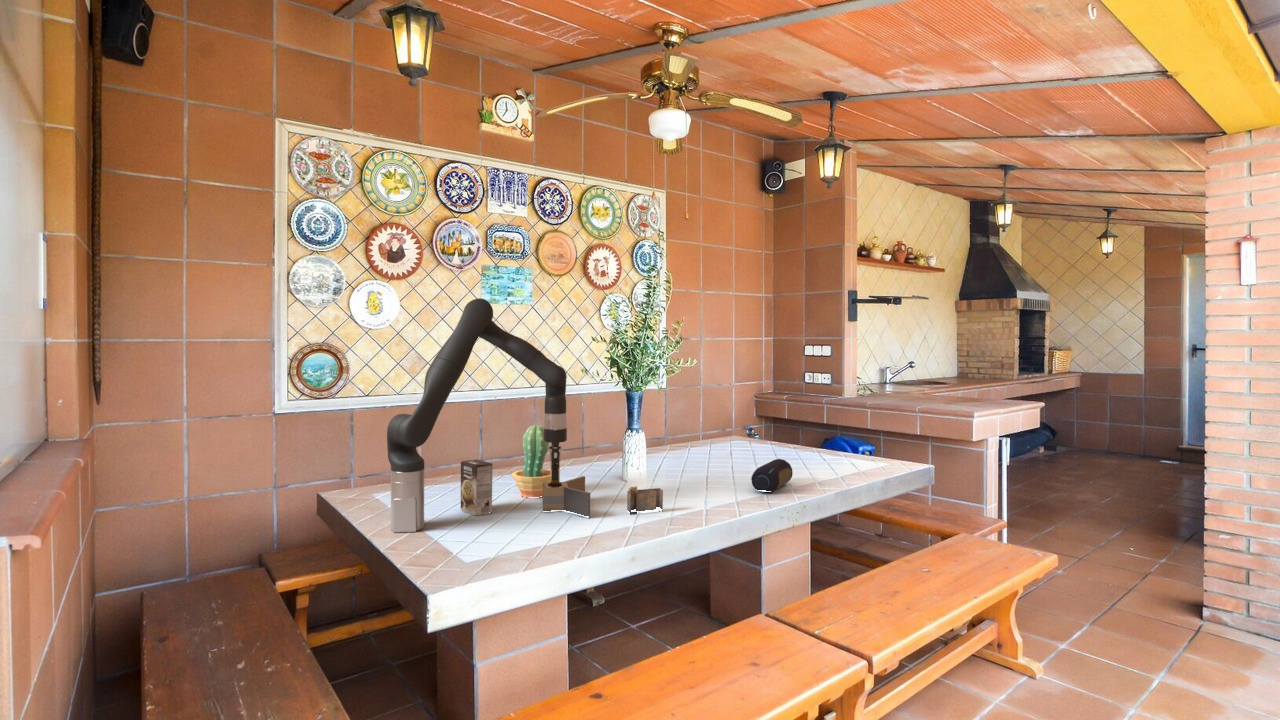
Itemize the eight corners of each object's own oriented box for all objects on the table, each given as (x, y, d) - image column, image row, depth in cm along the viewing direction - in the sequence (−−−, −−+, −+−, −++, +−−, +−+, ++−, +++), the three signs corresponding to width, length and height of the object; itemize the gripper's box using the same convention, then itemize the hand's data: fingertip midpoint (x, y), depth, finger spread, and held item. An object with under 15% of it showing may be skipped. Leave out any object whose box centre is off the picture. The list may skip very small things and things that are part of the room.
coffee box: (459, 511, 212) (459, 461, 211) (476, 507, 216) (477, 458, 216) (475, 516, 205) (475, 465, 205) (492, 512, 210) (493, 462, 210)
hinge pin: (560, 489, 214) (560, 457, 214) (549, 489, 213) (549, 457, 213) (560, 487, 218) (560, 455, 217) (549, 487, 217) (549, 455, 217)
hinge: (590, 518, 205) (590, 493, 205) (542, 520, 203) (542, 494, 202) (584, 498, 230) (585, 476, 229) (542, 499, 227) (542, 476, 227)
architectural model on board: (630, 516, 209) (630, 486, 209) (627, 514, 212) (627, 484, 212) (663, 513, 213) (663, 483, 213) (659, 511, 216) (659, 481, 216)
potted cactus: (563, 497, 231) (563, 426, 230) (522, 503, 223) (523, 429, 222) (543, 488, 244) (544, 421, 243) (504, 493, 235) (505, 424, 234)
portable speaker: (774, 497, 236) (775, 469, 236) (748, 493, 241) (748, 466, 241) (795, 484, 258) (795, 458, 258) (770, 481, 263) (771, 456, 263)
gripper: (543, 424, 221) (543, 475, 222) (543, 430, 207) (543, 484, 208) (566, 423, 222) (565, 474, 223) (567, 429, 208) (567, 483, 209)
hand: (554, 479), depth 215 cm, fingers closed on hinge pin, 3 cm apart
